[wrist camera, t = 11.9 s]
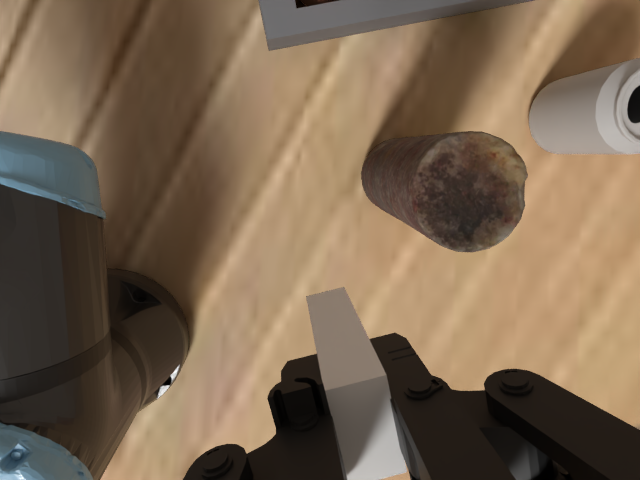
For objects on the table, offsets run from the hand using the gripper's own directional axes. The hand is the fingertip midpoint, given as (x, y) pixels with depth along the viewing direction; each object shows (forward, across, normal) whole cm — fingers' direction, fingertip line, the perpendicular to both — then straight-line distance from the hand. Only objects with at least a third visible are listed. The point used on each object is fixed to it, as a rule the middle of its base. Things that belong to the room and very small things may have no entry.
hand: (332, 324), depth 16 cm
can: (+28, +29, +4) cm, 40 cm away
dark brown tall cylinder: (+28, +10, +2) cm, 30 cm away
